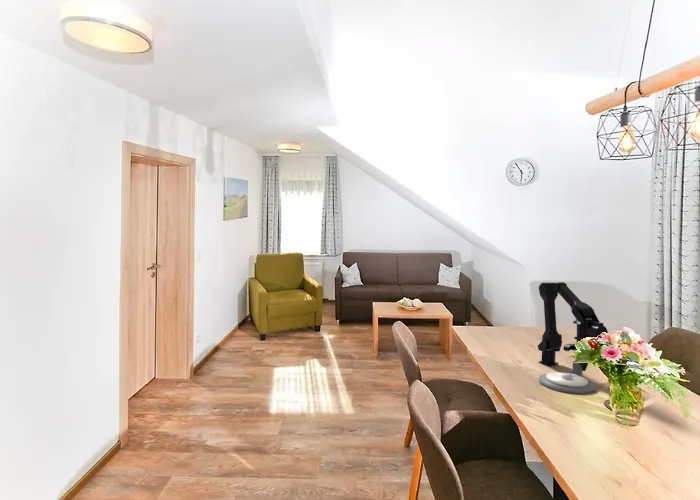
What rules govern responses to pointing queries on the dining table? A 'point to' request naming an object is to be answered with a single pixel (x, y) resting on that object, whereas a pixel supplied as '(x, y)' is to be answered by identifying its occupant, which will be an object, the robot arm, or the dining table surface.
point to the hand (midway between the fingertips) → (583, 370)
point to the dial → (569, 377)
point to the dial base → (575, 390)
